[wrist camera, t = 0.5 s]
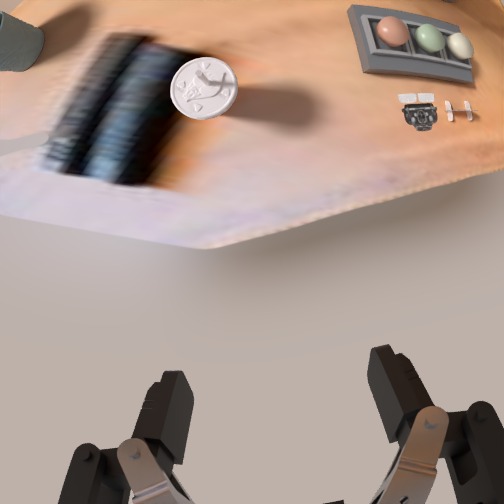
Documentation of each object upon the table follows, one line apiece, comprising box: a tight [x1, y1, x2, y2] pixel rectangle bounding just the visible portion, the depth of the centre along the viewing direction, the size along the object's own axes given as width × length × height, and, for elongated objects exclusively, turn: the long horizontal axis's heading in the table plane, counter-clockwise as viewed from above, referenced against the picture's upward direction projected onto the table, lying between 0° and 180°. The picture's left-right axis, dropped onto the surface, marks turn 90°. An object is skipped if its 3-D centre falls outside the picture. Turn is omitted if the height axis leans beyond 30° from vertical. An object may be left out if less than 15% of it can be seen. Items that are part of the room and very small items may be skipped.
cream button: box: [447, 33, 474, 60], centre depth 21 cm, size 4×4×2 cm
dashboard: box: [398, 93, 478, 131], centre depth 28 cm, size 15×7×4 cm, turn 105°
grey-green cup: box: [0, 11, 44, 72], centre depth 19 cm, size 10×10×12 cm
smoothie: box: [171, 57, 238, 120], centre depth 25 cm, size 6×6×14 cm
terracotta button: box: [376, 16, 410, 47], centre depth 22 cm, size 4×4×2 cm
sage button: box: [415, 24, 445, 53], centre depth 22 cm, size 4×4×2 cm
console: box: [347, 5, 474, 84], centre depth 25 cm, size 10×19×4 cm, turn 100°
